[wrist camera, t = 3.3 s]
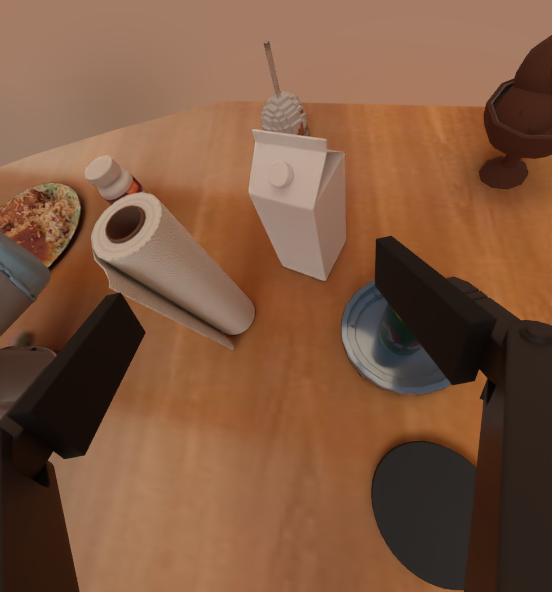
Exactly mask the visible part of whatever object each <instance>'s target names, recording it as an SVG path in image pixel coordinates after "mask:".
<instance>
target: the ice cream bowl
mask: <svg viewBox="0 0 552 592" xmlns="http://www.w3.org/2000/svg"><path fill="white" fill-rule="evenodd" d="M484 126H485V129H486V132H487V135H488V138H489V141H490V143H491V144H492V145H493V147H494V148H496V149H498V150H500V151H501V152H503V153H505V154H507V155H506V156H505V157H503V156H499V157H497V158H494V159H491V160H488V161H487V162H486V163H485V164H484V165H483V167H482V168H481V169H480V171H479V174H480V178H481V181H482V182H484V183H486V184H487V185H489V186H490V187H492V188H501V189H510V188H512V187H515V186H518V185H521V184H522V183H523V181H524V180H525V178H526V177H527V176H528V170H527V167H526V164H525V163H524V162H522V161H520V159H521V158H534V159H536V158H542V157H546V156H549V155H552V35H551V36H550V37H548V38H547V39H545V40H544V41H542V42H541V43H539V44H538V45H537V46H536V47H534V48H533V49H531V51H530V52H529V54H528V55H527V56H526V57H525V59H524V61H523V63H522V64H521V66H520V67H519V69H518V71H517V72H516V75H515V78H514V79H512V80H509V81H506V82H504V83H502V84H501V85H500V86H499V87H498V89H497V90H496V91H495V93H494V94H493V95H492V96H491V98H490V99H489V100H488V102H487V103H486V107H485V111H484Z"/></svg>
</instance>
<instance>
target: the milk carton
mask: <svg viewBox="0 0 552 592" xmlns="http://www.w3.org/2000/svg"><path fill="white" fill-rule="evenodd" d="M252 133H253V136H254V139H255V147H254V154H253V161H252V168H251V175H250V182H249V190H248V193H249V195H250V198H251V200H252V202H253V204H254V206H255V208H256V211H257V213H258V215H259V217H260V219H261V221H262V223H263V226H264V228H265V230H266V232H267V234H268V236H269V238H270V241H271V243H272V245H273V247H274V249H275V251H276V254H277V256H278V258H279V260H280V262H281V264H282V266H284V267H286V268H289V269H292V270H294V271H297V272H300V273H303V274H306V275H308V276H311V277H314V278H317V279H319V280H322V281H326V280H327V278H328V276H329V274H330V272H331V270H332V268H333V266H334V264H335V262H336V260H337V258H338V256H339V254H340V252H341V250H342V248H343V246H344V244H345V242H346V205H345V152H341V151H334V150H328V149H327V140H326V139H323V138H315V137H308V136H301V135H293V134H286V133H278V132H271V131H264V130H256V129H253V130H252Z"/></svg>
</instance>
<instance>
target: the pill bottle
mask: <svg viewBox="0 0 552 592" xmlns="http://www.w3.org/2000/svg"><path fill="white" fill-rule="evenodd" d="M85 178H86V179H87V180H88V181H89V182H91V183H92V184H93V185H94V186H95V187H97V188H98V192H99V194H100V195H101V196H102V197H103V198H104V199H105V200H107V201H108V202H109V203H110V204H111V205H112V204H113V203H114V202H116V201H118V200H119V199H121V198H123V197H125V196H127V195H130V194H135V193H140V192H142V193H148V192H147V191H146V190H145V189H144V187H143V186H142V185H141V184H140V183H139V182H138V181H137V180H136V179H135V178H134V177H133V176H132V174H131V173H130V172H128V171H127V170H125V169H122V168H120V166H119V165H118V164H117V163H116V162H115V161H114V160H113V159H112V158H111V157H110V156H101V157H98V158H96V159H95V160H93V161H92V162H91V163H90V164H89V165H88V166H87V168H86V170H85ZM148 194H149V193H148Z"/></svg>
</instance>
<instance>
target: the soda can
mask: <svg viewBox="0 0 552 592" xmlns="http://www.w3.org/2000/svg"><path fill="white" fill-rule="evenodd" d="M378 336H379V339H380V341H381V343H382V345H383V346H384V347H385V348H386V349H387V350H389V351H390V352H392V353H395V354H398V355H410V354H413V353H415V352H417V351H418V350H420V349H421V348H422V346H421V344H420V343H419V342H418V341H417V339H416V338H415V337H414V335H413V334H412V333H411V332H410V330H409V329H408V328H407V326H406V325H405V324H404V323H403V321H402V320H401V319H400V317H399V316H398V315H397V314H396V312H395V311H394V310H393V308H392V307H391V306H390V305H389V303H388V302H387V305H386V308H385V311H384V313H383V316H382V319H381V322H380V324H379V327H378Z"/></svg>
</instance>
